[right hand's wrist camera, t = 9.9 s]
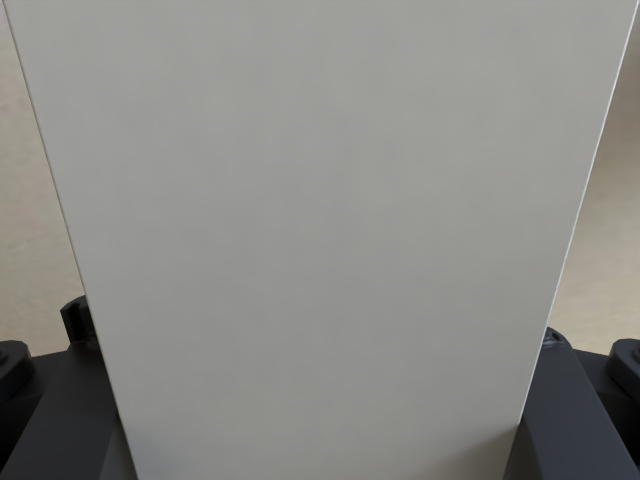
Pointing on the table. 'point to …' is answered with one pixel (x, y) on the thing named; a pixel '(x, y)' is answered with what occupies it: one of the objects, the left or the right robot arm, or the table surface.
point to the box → (320, 218)
